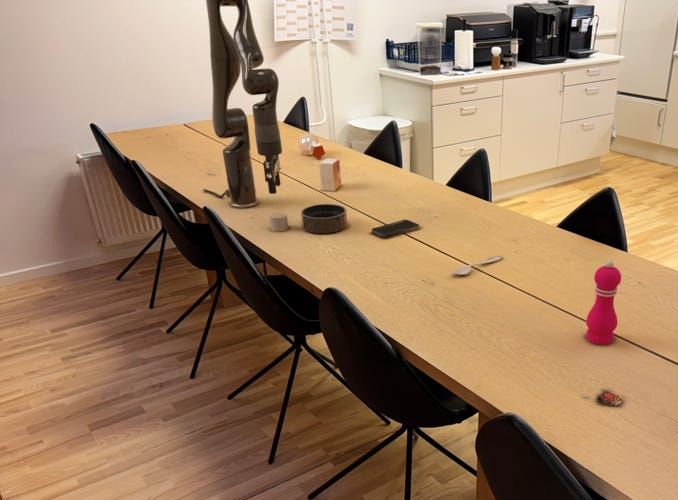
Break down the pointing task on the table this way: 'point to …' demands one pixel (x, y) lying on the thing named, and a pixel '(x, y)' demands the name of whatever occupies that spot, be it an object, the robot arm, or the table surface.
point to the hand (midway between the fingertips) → (275, 189)
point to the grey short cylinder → (278, 221)
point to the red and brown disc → (609, 398)
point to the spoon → (467, 268)
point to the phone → (395, 228)
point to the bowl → (324, 218)
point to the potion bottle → (311, 146)
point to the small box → (330, 174)
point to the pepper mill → (603, 305)
